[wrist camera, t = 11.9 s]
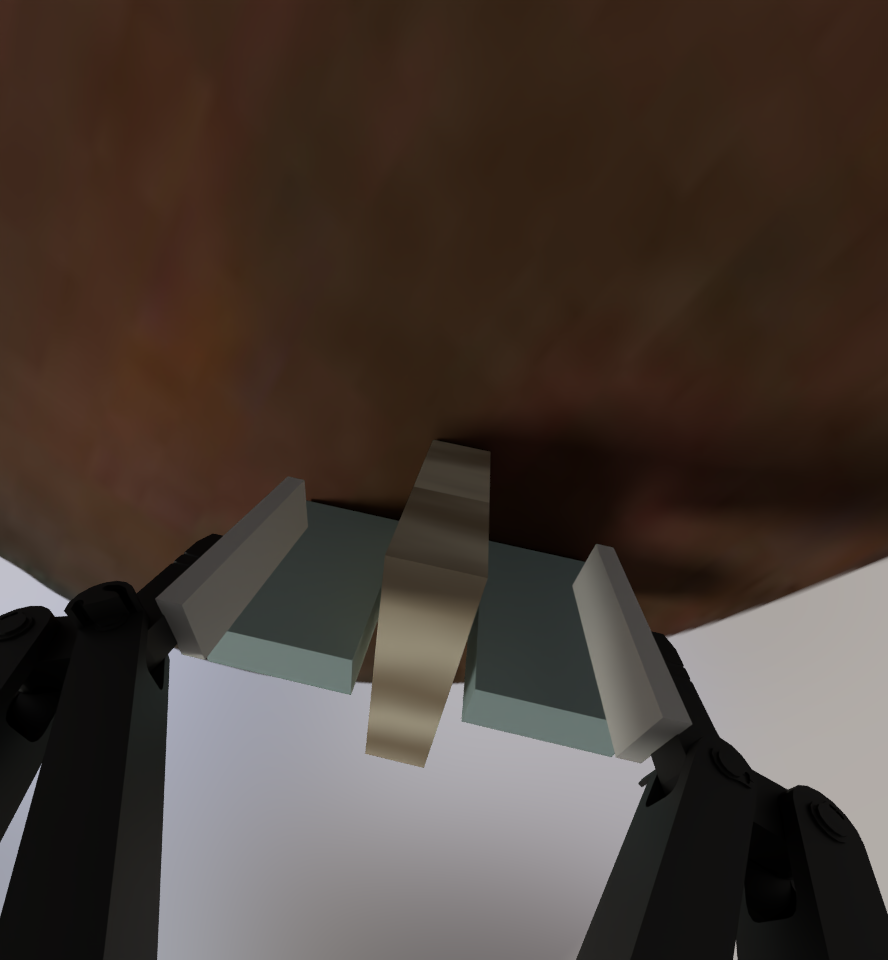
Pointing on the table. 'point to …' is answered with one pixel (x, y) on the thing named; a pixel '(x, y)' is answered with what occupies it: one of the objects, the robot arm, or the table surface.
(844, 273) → the table surface
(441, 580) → the beige bar
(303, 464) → the table surface
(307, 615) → the base plate
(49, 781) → the robot arm
